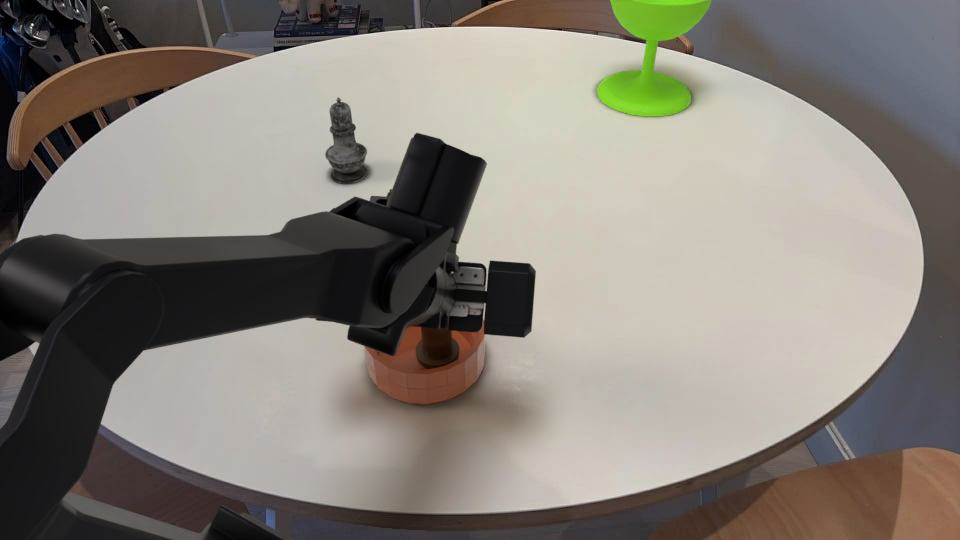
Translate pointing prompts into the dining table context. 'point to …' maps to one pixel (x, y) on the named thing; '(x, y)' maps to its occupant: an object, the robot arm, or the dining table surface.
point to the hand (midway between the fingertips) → (437, 297)
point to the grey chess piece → (345, 147)
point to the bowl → (422, 384)
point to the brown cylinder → (436, 347)
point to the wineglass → (651, 57)
